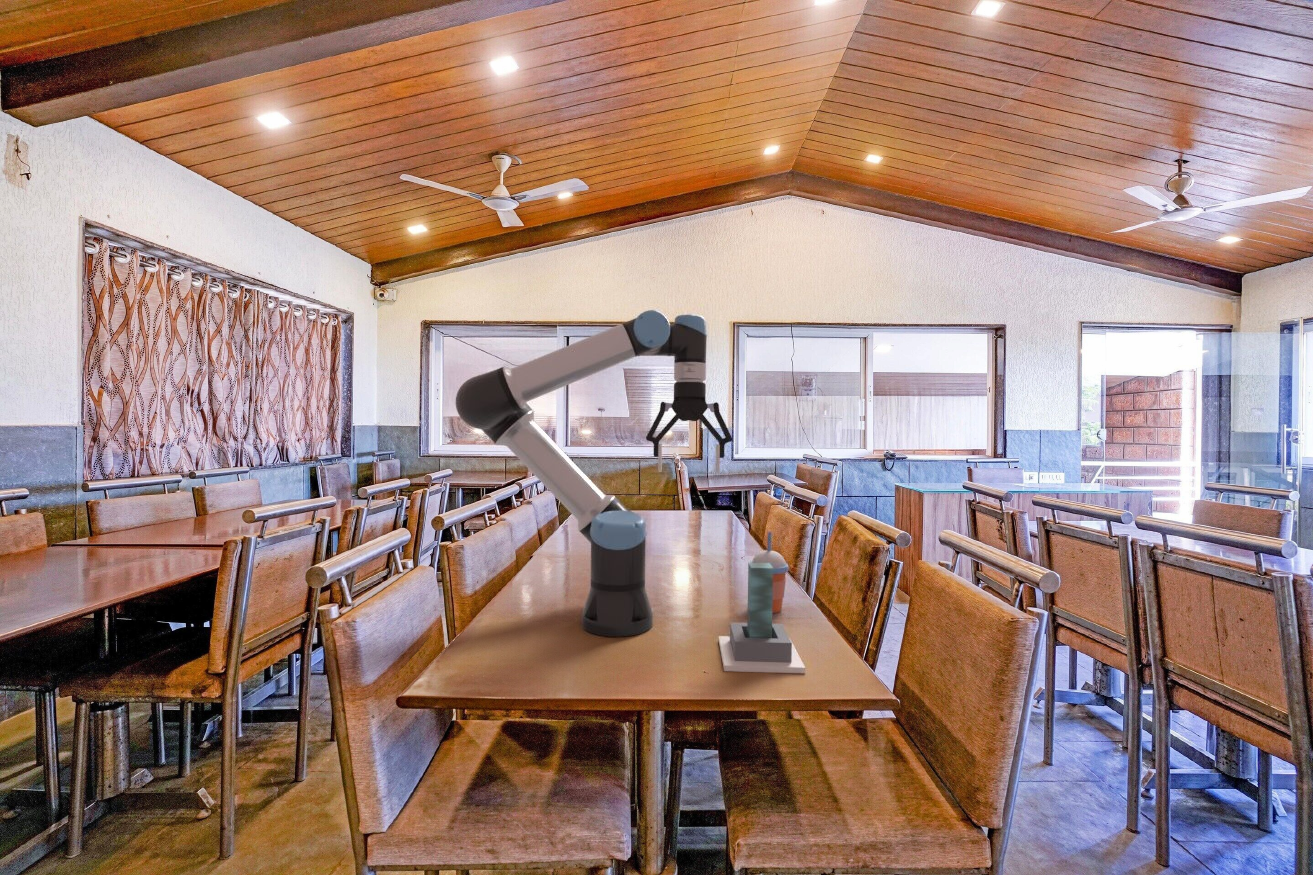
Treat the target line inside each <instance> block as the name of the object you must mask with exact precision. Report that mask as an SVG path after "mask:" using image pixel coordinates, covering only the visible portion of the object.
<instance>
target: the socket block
mask: <svg viewBox="0 0 1313 875" xmlns="http://www.w3.org/2000/svg"><path fill="white" fill-rule="evenodd" d="M718 644H719V649H720V655H721V660H722V665H723V671H724V672H743V673H744V672H745V673H747V672H748V673H773V674H774V673H778V674H780V673H781V674H782V673H784V674H806V665H805V664H804V662H803V660H802V659H801V657H800V655H799V653H798V651H797V650H796V647H795V645H794V644H793V641H792V640H791V638H790V637H789V635H788V633H787V631H786V629H785V628H784V625H783V624H782V623H773V622H772V638H747V622H733V621H730V622H729V636H728V635H724V636H723V635H719V636H718Z"/></svg>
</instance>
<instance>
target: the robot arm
mask: <svg viewBox="0 0 1313 875" xmlns="http://www.w3.org/2000/svg"><path fill="white" fill-rule="evenodd" d="M668 319H669V318H668V317H666V315H665V314H664V313H663V312H661V311H659V310H656V309H655V310H654V309H649V310H645V311H643V312H642V313H640V314H639V315H637V317H635V318H633V319H630V320H628V321H626V322H623V323H621V324H618V325H616V326H613V327H610V328H609V329H606V330H604V331H601V332H598V333H596V334H594V335H590V336H588V337H586V338H584V339H581V340H579V341H576V342H574V343H571V344H569V345H567V346H564V347H562V348H559V349H557V350H554V351H552V352H549V353H547V354H544V355H542V356H539V357H537V358H534V359H532V360H530V361H527V362H525V363H523V364H520V365H518V366H514V367H513V368H511V367H508V366H505V365H504V366H502V367H499V368H497V369H494V370H490V371H488V372H485V373H482V374H479V375H475V376H473V377H470V378H469V379H467V380H466V381H464V382H463V384H461V386H460V387H459V388H458V390H457V393H456V396H455V409H456V412H457V414H458V415H459V417H460V419H461V420H462V421H463V422H464V423H465V424H466V425H468V426H470V427H472V428H475V429H478V430H481V431H482V432H484V434H485V435H486V436H487V437H488V438H489V439H490V441H492V442H493V443H494V444H495V445H496V446H505V447H507V448H508V449H509V450H510V451H511V453H513V454H514V455H515V457H517V459H518V460H520V461H521V463H523V465H524V466H525V467H526V468H527V469H528V471H530V472H531V473H532V474H533V475H534V476H535V477H536V478H537V479H538V481H540V482H541V483H542V484H543V486H544V487H546V488H547V490H549V492H550V493H551V494H552V495H553V496H554V497H555V499H557V500H558V501H559V502H560V503H561V505H563V506H564V508H566V509H567V510H568V512H569V513H570V514H571V515H572V516H573V517H574V518H575V519H576V520H577V530H578V531H579V533H581V534H582V536H583V537H584V538H585V539H586V540H587V541H588V542H589V543H590V588H589V592H588V595H587V598H586V601H585V605H584V607H583V611H582V613H581V627H582V628H583V629H584V630H585V631H586V632H587V633H588V632H589V633H591V634H592V635H593V634H594V635H598V636H604V637H629V636H635V635H639V634H643V633H645V632H647V631H649V630H651V628H652V627H653V624H654V621H653V620H654V615H653V614H654V613H653V610H652V607H651V604H650V600H649V597H648V594H647V589H646V544H647V542H646V536H647V534H648V532H647V526H646V520H645V518H644V517H643V515H641V514H639V513H635V512H633V511H631V510H630V509H628V508H627V507H626V505H624V504H623V503H622V502H621V501H620V500H619V499H618V498H617V497H616V496H615V495H614V494H605V493H604V492H603V491H602V490H601V489H600V488H599V487H598V486H597V485H596V484H595V483H594V482H593V481H592V480H591V479H590V477H588V476H587V474H585V473H584V472H583V471H582V469H581V468H580V467H579V466H578V465H577V464H576V463H575V461H573V459H571V458H570V457H569V456H568V455H567V453H565V452H564V451H563V450H562V449H561V447H560V446H559V445H557V443H556V442H555V441H554V440H553V439H552V438H551V437H550V436H549V435H548V433H546V432H545V431H544V429H543V428H542V427H540V425H539V424H538V423H537V422H536V421H535V410H534V409H532V407H531V406H529V405H528V403H527V402H530V401H533V400H534V399H537V398H539V397H541V396H544V395H547V394H549V393H552V392H553V391H556V390H559V389H561V388H564V387H566V386H568V385H571V384H573V383H575V382H578V381H580V380H583V379H585V378H588V377H590V376H592V375H596V374H597V373H600V372H602V371H604V370H607V369H609V368H612V367H614V366H616V365H619V364H621V363H623V362H626V361H628V360H631V359H634V358H635V357H640V356H642V357H644V356H645V357H646V356H647V357H653V356H655V357H673V359H674V363H673V368H674V369H673V379H674V381H675V382H674V384H673V401H672V403H671V402H665V401H661V402H660V407H659V412H658V413H657V415H656V417H655V420H654V421H653V423H652V425H651V427H650V429H649V431H648V433H647V435H646V436H645V439H646V440H647V441H648V442H650V443H652V444H653V457H654V458H658V459H657V460H658V461H657V472H662V470H663V469H662V467H663V466H662V465H663V443H660V441H661V440H662V439H663V438H664V436H665V435H666V434H667V433H668V432H669V431H670V429H671V428H672V427H674V425H675V424H676V423H677V422H678V420H680V421H682V422H688V421H690V422H697V421H699V420H700V422H701V423H702V424H703V425H704V426H705V427H706V429H707V430H708V431H709V433H710V434H711V435H712V436H713V438H714V439H716V441H717V442H718V443H717V444H715V469H714V470H715V471H714V472H715V473H720V462H721V461H720V459H724V457H725V445H726V444H727V443H731V442H732V441H733V437H732V435H731V433H730V431H729V429H728V427H727V425H726V422H725V421H724V418H723V416H722V414H721V412H720V404H719V403H718V402H717V401H716V402H712V403H707V400H706V399H707V398H706V394H707V392H706V391H707V390H706V387H707V386H706V383H705V381H706V380H707V338H708V334H707V321H706V320H707V319H705V317H704V316H702V315H700V314H692V313H691V314H690V313H687V314H678V315H677V316H676V317H675V318H674V322H673V323H670V321H669V320H668ZM670 409H672V410H673V412H674V413H675V415H674V416H673V417H672V418H671V419H670V421H669V422H668V423H667V424H666V425H665V427H664V428H662V430H661V431H660V432H659V433H658V434H657V435H656V437H655V436H654V434H656V430H657V429H658V428H659V425H660V423H661V421H662V419H663V417H664V415H665V413H666V412H669V410H670ZM707 409H709V410H710V412H711V413H713V415H714V417H715V419H716V421H717V424H718V425H719V427H720V429H721V431H722V433H723V436H724V438H723V437H722V436H721V435H720V434H719V432H718V431H717V430H716V428H715V427H714V426H713V425H712V423H710V421H709V420H708V418H706V416H705V415H704V413H705V412H706V411H707Z"/></svg>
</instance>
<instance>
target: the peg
mask: <svg viewBox="0 0 1313 875" xmlns="http://www.w3.org/2000/svg"><path fill="white" fill-rule="evenodd" d="M747 567H748V568H747V570H748V571H747V575H748V576H747V618H746V619H747V621H746V623H747V638H772V623H773V613H772V607H773V567H772V566H771V564H770V563H750V562H748V565H747Z"/></svg>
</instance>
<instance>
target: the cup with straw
mask: <svg viewBox="0 0 1313 875" xmlns="http://www.w3.org/2000/svg"><path fill="white" fill-rule="evenodd" d="M766 536H767V544H766V545H767V547H766V550H765V549H764V550H761V551H759V552H758V553H757V554H755V555H754V557H753V559H752V560H751V561H749V563H770V564H771V566H772V567H773V607H772V614H776V613H779V612H781V611H782V608H783V607H782V606H783V599H784V597H785V591H786V590H785V589H786V582H787V577H786V573H788V572H789V569H790V567H789V564H788V563H787V562H786V560H785V559H784V556H783V555H781V553H779V552H777V551H775V550H772V532H770V531H768V532H767V535H766Z"/></svg>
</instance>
